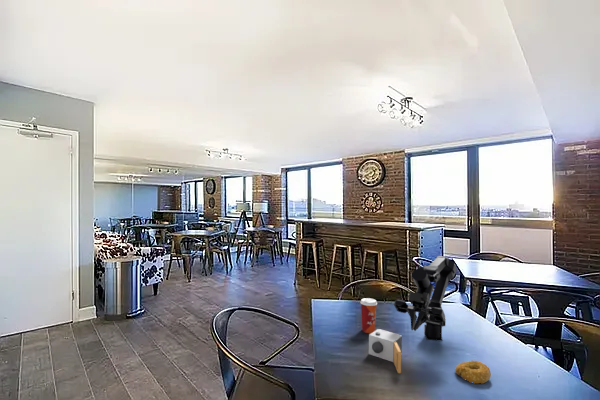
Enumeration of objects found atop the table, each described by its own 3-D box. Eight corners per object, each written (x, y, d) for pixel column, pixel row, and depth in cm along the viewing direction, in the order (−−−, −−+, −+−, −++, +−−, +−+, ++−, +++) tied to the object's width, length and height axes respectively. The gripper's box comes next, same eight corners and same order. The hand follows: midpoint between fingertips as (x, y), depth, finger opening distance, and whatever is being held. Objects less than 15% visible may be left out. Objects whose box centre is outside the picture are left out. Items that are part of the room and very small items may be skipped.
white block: (378, 347, 137) (378, 327, 137) (401, 354, 130) (402, 334, 130) (367, 355, 129) (367, 334, 129) (391, 363, 123) (392, 341, 123)
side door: (400, 373, 116) (401, 351, 116) (397, 373, 116) (397, 351, 116) (395, 362, 124) (396, 340, 124) (392, 361, 124) (392, 340, 124)
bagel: (458, 366, 122) (459, 353, 122) (493, 376, 115) (493, 363, 115) (451, 377, 114) (451, 363, 114) (487, 389, 107) (488, 375, 107)
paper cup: (372, 335, 149) (372, 303, 149) (356, 331, 153) (357, 300, 153) (379, 330, 155) (380, 299, 155) (364, 326, 160) (365, 296, 160)
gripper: (395, 279, 138) (384, 313, 130) (443, 287, 126) (433, 325, 118) (403, 294, 144) (392, 327, 136) (449, 303, 133) (440, 340, 124)
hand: (413, 330), depth 128 cm, fingers closed
